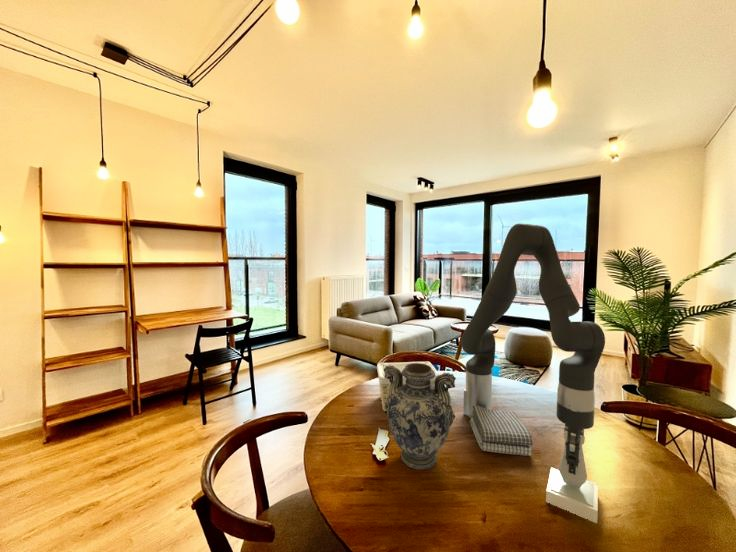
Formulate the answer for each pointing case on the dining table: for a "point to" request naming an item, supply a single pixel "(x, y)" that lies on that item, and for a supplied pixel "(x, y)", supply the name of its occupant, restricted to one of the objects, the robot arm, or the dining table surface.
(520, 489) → the dining table surface
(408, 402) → the decorative vase
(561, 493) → the pedestal
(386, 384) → the cream box
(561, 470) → the salt shaker
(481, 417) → the towel
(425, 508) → the dining table surface
